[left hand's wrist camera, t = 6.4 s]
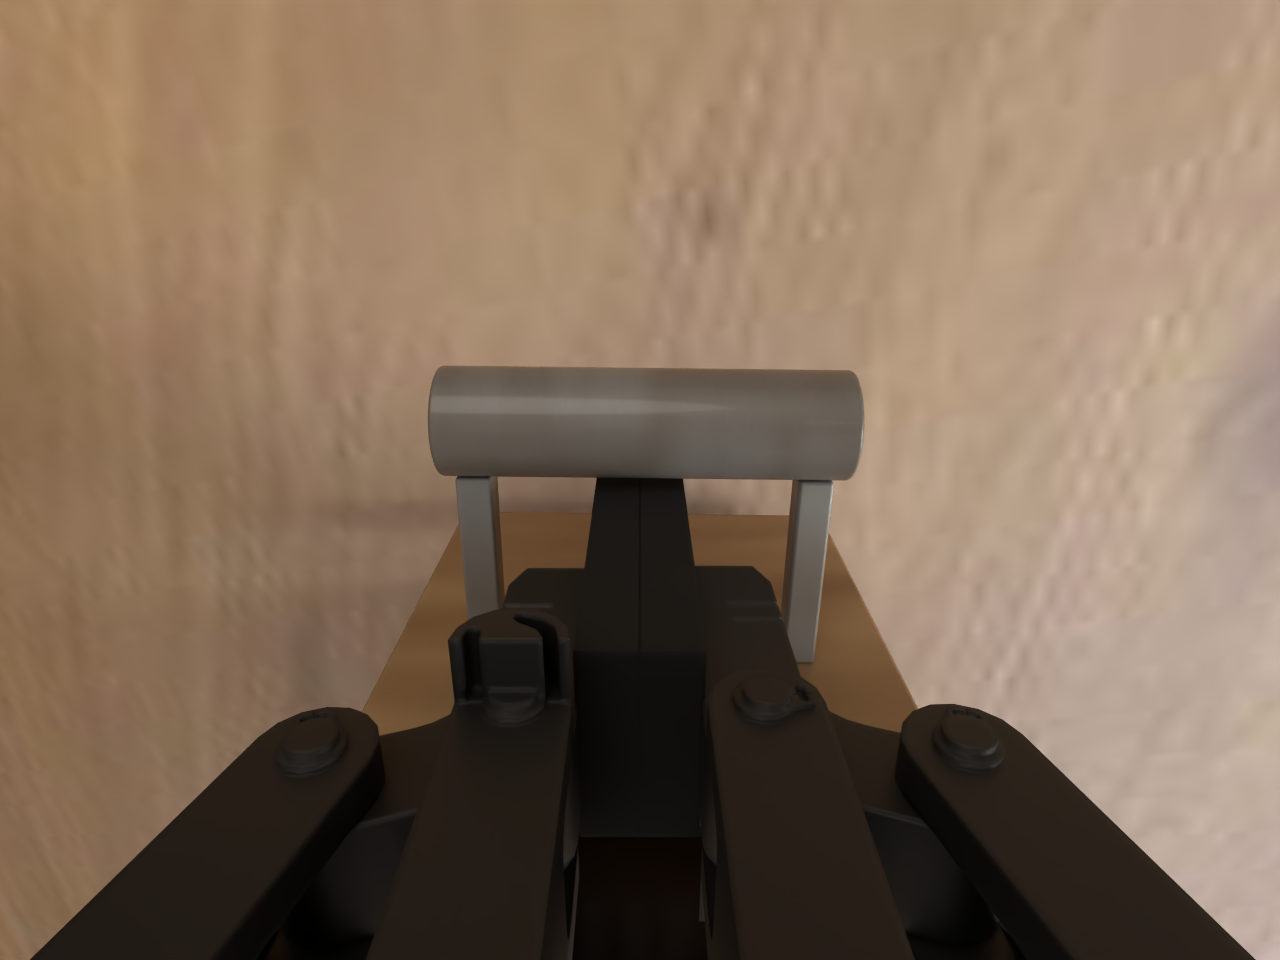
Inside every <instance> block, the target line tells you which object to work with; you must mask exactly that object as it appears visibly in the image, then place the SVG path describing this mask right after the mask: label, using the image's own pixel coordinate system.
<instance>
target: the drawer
mask: <svg viewBox="0 0 1280 960" xmlns="http://www.w3.org/2000/svg"><path fill="white" fill-rule="evenodd" d="M428 433H429V443H430V450H431V454H432V458H433V462H434V465H435V467H436V469H437V471H438V472H439V473H440V474H441V475H444V476H457V478H456V492H457V504H458V515H459V524H458V526H457V528H456V530H455V532H454V534H453V536H452V538H451V540H450V542H449V544H448V546H447V547H446V549H445V551H444V553H443V555H442V557H441V559H440V561H439V563H438V565H437V567H436V569H435V571H434V573H433V575H432V577H431V579H430V580H429V582H428V584H427V586H426V588H425V590H424V592H423V594H422V596H421V598H420V600H419V602H418V604H417V606H416V608H415V610H414V612H413V614H412V615H411V617H410V619H409V621H408V623H407V625H406V627H405V629H404V631H403V633H402V635H401V637H400V639H399V641H398V643H397V645H396V647H395V649H394V650H393V652H392V654H391V656H390V658H389V660H388V662H387V664H386V666H385V668H384V670H383V672H382V674H381V676H380V678H379V680H378V682H377V684H376V685H375V687H374V689H373V691H372V693H371V695H370V697H369V699H368V701H367V703H366V705H365V707H364V709H363V711H362V712H363V713H365V714H368V715H369V717H370V718H371V719H372V720H373V721H374V722H375V723H376V724H377V725H378V730H379V736H381V735H385V734H390V733H394V732H399V731H403V730H407V729H412V728H416V727H419V726H423V725H426V724H429V723H433V722H435V721H437V720H439V719H441V718H443V717H445V716H447V715H449V714H451V711H452V708H453V705H454V693H453V684H452V675H451V666H450V657H449V648H448V639H449V637H450V636H451V635H452V633H453V632H454V631H455V630H456V628H457V627H458V626H460V625H461V624H463V623H465V622H466V621H468V620H469V619H471V618H473V617H474V616H478V615H481V614H484V613H487V612H490V611H493V610H499V609H501V608H503V602H504V599H505V595H506V592H507V589H508V586H509V584H510V583H511V582H512V581H514V580H515V579H516V578H517V577H518V576H519V575H520V574H521V573H522V572H524V571H525V570H526V569H527V568H584V567H585V560H586V553H587V546H588V538H589V531H590V524H591V517H592V513H513V512H499V497H498V482H497V476H503V477H591V478H680V479H769V480H793V483H792V493H791V504H790V515H789V516H781V515H691V514H688V520H689V528H690V535H691V542H692V549H693V556H694V563H695V566H753V567H754V568H755V569H756V570H758V571H759V572H760V573H761V574H762V575H763V576H764V577H765V578H767V579H768V580H769V581H770V582H771V584H772V588H773V591H774V594H775V597H776V600H777V605H778V606H779V610H780V613H781V616H782V622H784V625H785V628H786V631H787V635H788V638H789V641H790V644H791V647H792V650H793V653H794V657H795V660H796V663H797V666H798V669H799V672H800V675H801V677H802V678H804V679H805V680H807V681H808V682H809V683H811V684H812V685H814V686H815V687H816V688H817V689H818V691H819V692H820V694H821V695H822V697H823V698H824V700H825V701H826V704H827V707H828V710H829V711H830V712H832V713H835V714H837V715H839V716H841V717H843V718H845V719H847V720H851V721H854V722H857V723H861V724H864V725H868V726H873V727H877V728H882V729H886V730H891V731H895V732H900V733H901V728H902V722H903V721H904V720H905V719H906V718H907V717H908V716H909V715H910V713H911V712H912V711H914V710H917V709H918V708H917V706H916V704H915V702H914V700H913V698H912V696H911V694H910V692H909V690H908V688H907V686H906V684H905V682H904V680H903V678H902V676H901V674H900V672H899V670H898V668H897V666H896V664H895V662H894V660H893V658H892V656H891V654H890V652H889V650H888V648H887V646H886V644H885V642H884V641H883V639H882V637H881V635H880V633H879V631H878V629H877V627H876V625H875V623H874V621H873V619H872V617H871V615H870V613H869V611H868V609H867V607H866V605H865V603H864V601H863V599H862V597H861V595H860V593H859V591H858V589H857V587H856V585H855V583H854V581H853V579H852V577H851V575H850V573H849V571H848V569H847V567H846V565H845V563H844V562H843V560H842V558H841V556H840V554H839V552H838V550H837V548H836V546H835V544H834V542H833V540H832V538H831V536H830V534H829V525H830V517H831V508H832V499H833V491H834V484H833V482H832V480H848V479H850V478H851V477H852V476H853V475H854V473H855V471H856V469H857V467H858V463H859V460H860V456H861V452H862V446H863V437H864V403H863V395H862V390H861V386H860V383H859V380H858V378H857V376H856V374H855V373H854V372H852V371H849V370H771V369H683V368H595V367H507V366H442V367H440V368H438V370H437V371H436V373H435V375H434V378H433V381H432V385H431V389H430V395H429V405H428ZM578 859H579V883H578V895H577V907H576V919H575V930H574V942H573V954H572V960H708V953H707V941H706V929H705V921H699V909H700V884H701V859H702V836H701V825H700V837H580V825H579V836H578Z"/></svg>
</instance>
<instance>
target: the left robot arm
mask: <svg viewBox="0 0 1280 960" xmlns="http://www.w3.org/2000/svg"><path fill="white" fill-rule="evenodd" d="M448 648H449V657H450V666H451V675H452V684H453V693H454V705H453V708H452V711H451V714H449V715H447V716H445V717H443V718H441V719H439V720H437V721H435V722H433V723H429V724H426V725H423V726H419V727H416V728H412V729H407V730H403V731H399V732H394V733H390V734H385V735H381V736H379V730H378V725H377V724H376V723H375V722H374V721H373V720H372V719H371V718H370V717H369V715H368V714H365V713H363V712H360V711H357V710H354V709H351V708H337V707H326V708H321V709H316V710H311V711H306V712H302V713H299V714H297V715H295V716H293V717H290V718H288V719H286V720H283V721H281V722H279V723H277V724H276V725H274V726H273V727H272V728H270V729H269V730H268V731H266V732H265V733H264V734H262V735H261V736H260V737H258V738H257V739H256V740H255V741H254V742H253V743H252V744H251V745H250V746H249V747H248V748H247V749H246V750H245V751H244V752H243V753H242V754H241V755H240V756H239V757H238V758H237V759H236V760H235V761H234V762H233V763H231V764H230V765H229V766H228V767H227V768H226V769H225V770H224V771H223V772H222V773H221V774H220V775H219V776H218V777H217V778H216V779H215V780H214V781H213V782H212V783H211V784H210V785H209V786H208V787H207V788H206V789H205V790H204V791H203V792H202V793H201V794H200V795H199V796H198V797H197V798H196V799H195V800H193V801H192V802H191V803H190V804H189V805H188V806H187V807H186V808H185V809H184V810H183V811H182V812H181V813H180V814H179V815H178V816H177V817H176V818H175V819H174V820H173V821H172V822H171V823H170V824H169V825H168V826H167V827H166V828H165V829H164V830H163V831H162V832H161V833H160V834H159V835H158V836H157V837H156V838H154V839H153V840H152V841H151V842H150V843H149V844H148V845H147V846H146V847H145V848H144V849H143V850H142V851H141V852H140V853H139V854H138V855H137V856H136V857H135V858H134V859H133V860H132V861H131V862H130V863H129V864H128V865H127V866H126V867H125V868H124V869H123V870H122V871H121V872H120V873H119V874H118V875H116V876H115V877H114V878H113V879H112V880H111V881H110V882H109V883H108V884H107V885H106V886H105V887H104V888H103V889H102V890H101V891H100V892H99V893H98V894H97V895H96V896H95V897H94V898H93V899H92V900H91V901H90V902H89V903H88V904H87V905H86V906H85V907H84V908H83V909H82V910H81V911H80V912H78V913H77V914H76V915H75V916H74V917H73V918H72V919H71V920H70V921H69V922H68V923H67V924H66V925H65V926H64V927H63V928H62V929H61V930H60V931H59V932H58V933H57V934H56V935H55V936H54V937H53V938H52V939H51V940H50V941H49V942H48V943H47V944H46V945H45V946H44V947H43V948H42V949H40V950H39V951H38V952H37V953H36V954H35V955H34V956H33V957H32V958H31V959H30V960H572V954H573V942H574V930H575V919H576V907H577V895H578V883H579V859H578V836H579V825H580V837H700V825H701V836H702V859H701V884H700V909H699V921H705V929H706V941H707V953H708V960H1255V959H1254V958H1253V957H1252V956H1251V955H1250V954H1249V953H1248V952H1247V951H1246V950H1245V949H1244V948H1243V947H1242V946H1241V945H1240V944H1239V943H1238V942H1237V941H1236V940H1235V939H1234V938H1233V937H1231V936H1230V935H1229V934H1228V933H1227V932H1226V931H1225V930H1224V929H1223V928H1222V927H1221V926H1220V925H1219V924H1218V923H1217V922H1216V921H1215V920H1214V919H1213V918H1212V917H1211V916H1210V915H1209V914H1208V913H1207V912H1206V911H1205V910H1204V909H1203V908H1201V907H1200V906H1199V905H1198V904H1197V903H1196V902H1195V901H1194V900H1193V899H1192V898H1191V897H1190V896H1189V895H1188V894H1187V893H1186V892H1185V891H1184V890H1183V889H1182V888H1181V887H1180V886H1179V885H1178V884H1177V883H1176V882H1175V881H1174V880H1173V879H1171V878H1170V877H1169V876H1168V875H1167V874H1166V873H1165V872H1164V871H1163V870H1162V869H1161V868H1160V867H1159V866H1158V865H1157V864H1156V863H1155V862H1154V861H1153V860H1152V859H1151V858H1150V857H1149V856H1148V855H1147V854H1146V853H1145V852H1144V851H1143V850H1141V849H1140V848H1139V847H1138V846H1137V845H1136V844H1135V843H1134V842H1133V841H1132V840H1131V839H1130V838H1129V837H1128V836H1127V835H1126V834H1125V833H1124V832H1123V831H1122V830H1121V829H1120V828H1119V827H1118V826H1117V825H1116V824H1115V823H1114V822H1113V821H1111V820H1110V819H1109V818H1108V817H1107V816H1106V815H1105V814H1104V813H1103V812H1102V811H1101V810H1100V809H1099V808H1098V807H1097V806H1096V805H1095V804H1094V803H1093V802H1092V801H1091V800H1090V799H1089V798H1088V797H1087V796H1086V795H1085V794H1084V793H1083V792H1082V791H1080V790H1079V789H1078V788H1077V787H1076V786H1075V785H1074V784H1073V783H1072V782H1071V781H1070V780H1069V779H1068V778H1067V777H1066V776H1065V775H1064V774H1063V773H1062V772H1061V771H1060V770H1059V769H1058V768H1057V767H1056V766H1055V765H1054V764H1053V763H1052V762H1050V761H1049V760H1048V759H1047V758H1046V757H1045V756H1044V755H1043V754H1042V753H1041V752H1040V751H1039V750H1038V749H1037V748H1036V747H1035V746H1034V745H1033V744H1032V743H1031V742H1030V741H1029V740H1028V739H1027V738H1026V737H1025V736H1024V735H1023V734H1021V733H1020V732H1019V731H1017V730H1016V729H1014V728H1013V727H1012V726H1010V725H1009V724H1008V723H1006V722H1005V721H1004V720H1002V719H1000V718H997V717H995V716H993V715H991V714H988V713H986V712H984V711H981V710H979V709H975V708H970V707H965V706H961V705H956V704H934V705H928V706H925V707H922V708H920V709H917V710H914V711H912V712H911V713H910V715H909V716H908V717H907V718H906V719H905V720H904V721H903V722H902V728H901V733H900V732H895V731H891V730H886V729H882V728H877V727H873V726H868V725H864V724H861V723H857V722H854V721H851V720H847V719H845V718H843V717H841V716H839V715H837V714H835V713H832V712H830V711H829V710H828V707H827V704H826V701H825V700H824V698H823V697H822V695H821V694H820V692H819V691H818V689H817V688H816V687H815V686H814V685H812V684H811V683H809V682H808V681H807V680H805V679H804V678H802V677H801V675H800V672H799V669H798V666H797V663H796V660H795V657H794V653H793V650H792V647H791V644H790V641H789V638H788V635H787V631H786V628H785V625H784V622H782V616H781V613H780V610H779V606H778V605H777V600H776V597H775V594H774V591H773V588H772V584H771V582H770V581H769V580H768V579H767V578H765V577H764V576H763V575H762V574H761V573H760V572H759V571H758V570H756V569H755V568H754V567H753V566H695V563H694V556H693V549H692V542H691V535H690V528H689V520H688V513H687V506H686V499H685V492H684V485H683V479H680V478H597V481H596V488H595V495H594V503H593V510H592V517H591V524H590V531H589V538H588V546H587V553H586V560H585V567H584V568H527V569H526V570H525V571H524V572H522V573H521V574H520V575H519V576H518V577H517V578H516V579H515V580H514V581H512V582H511V583H510V584H509V586H508V589H507V592H506V595H505V599H504V602H503V608H501V609H499V610H493V611H490V612H487V613H484V614H481V615H478V616H474V617H473V618H471V619H469V620H468V621H466V622H465V623H463V624H461V625H460V626H458V627H457V628H456V630H455V631H454V632H453V633H452V635H451V636H450V637H449V639H448Z"/></svg>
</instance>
